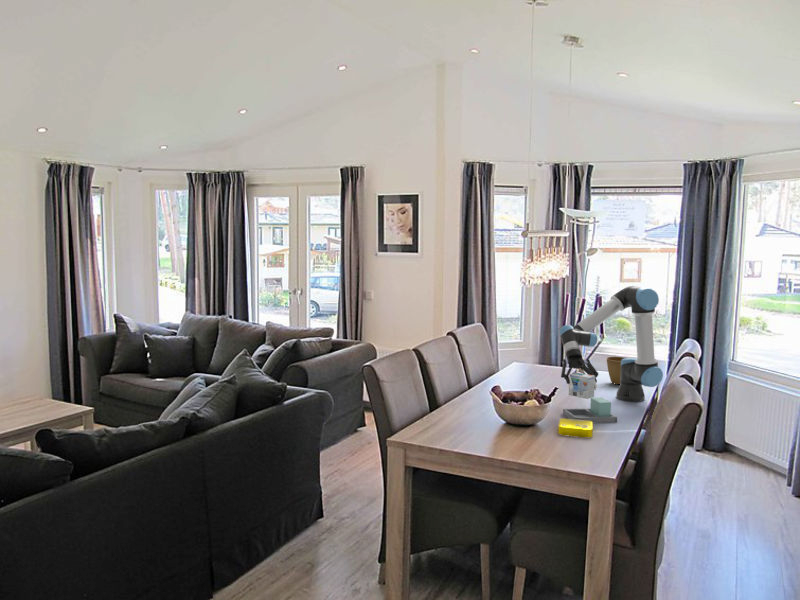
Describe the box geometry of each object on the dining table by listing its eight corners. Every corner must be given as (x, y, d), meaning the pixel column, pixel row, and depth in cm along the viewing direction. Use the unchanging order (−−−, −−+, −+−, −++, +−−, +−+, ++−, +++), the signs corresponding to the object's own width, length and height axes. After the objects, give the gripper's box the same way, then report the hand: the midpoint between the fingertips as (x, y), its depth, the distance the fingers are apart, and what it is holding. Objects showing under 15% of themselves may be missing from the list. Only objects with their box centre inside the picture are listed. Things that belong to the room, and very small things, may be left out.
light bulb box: (568, 395, 302) (568, 373, 301) (574, 393, 307) (575, 372, 306) (587, 399, 295) (588, 377, 294) (594, 396, 299) (595, 375, 298)
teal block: (601, 414, 308) (602, 397, 307) (610, 420, 298) (611, 402, 297) (590, 414, 307) (590, 397, 306) (598, 420, 297) (599, 402, 297)
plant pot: (601, 383, 382) (602, 358, 381) (613, 380, 392) (614, 355, 391) (623, 387, 371) (624, 361, 370) (635, 384, 381) (636, 359, 380)
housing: (602, 414, 311) (602, 408, 311) (616, 423, 295) (617, 417, 295) (563, 415, 309) (563, 409, 309) (575, 424, 293) (575, 417, 293)
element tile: (592, 429, 287) (592, 419, 286) (592, 439, 272) (592, 428, 272) (559, 426, 291) (560, 416, 291) (557, 435, 277) (558, 425, 277)
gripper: (592, 356, 316) (604, 392, 302) (548, 356, 313) (558, 393, 299) (597, 347, 310) (609, 384, 296) (552, 348, 307) (562, 385, 293)
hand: (583, 388), depth 298 cm, fingers closed on light bulb box, 11 cm apart
